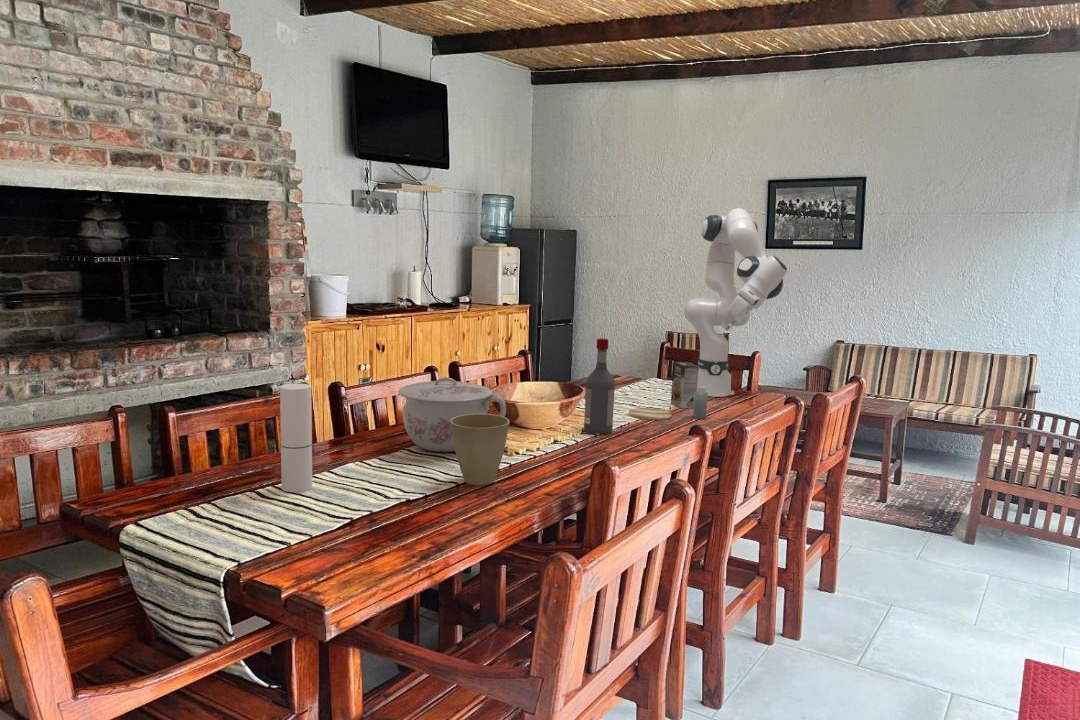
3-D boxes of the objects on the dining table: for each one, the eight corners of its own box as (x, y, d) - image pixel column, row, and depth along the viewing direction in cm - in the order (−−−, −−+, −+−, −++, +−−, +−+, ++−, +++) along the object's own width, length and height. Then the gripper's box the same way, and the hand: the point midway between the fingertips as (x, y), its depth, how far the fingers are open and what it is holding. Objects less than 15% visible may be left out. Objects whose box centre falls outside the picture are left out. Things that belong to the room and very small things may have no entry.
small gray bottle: (691, 415, 287) (693, 385, 286) (704, 416, 287) (706, 386, 285) (693, 418, 283) (696, 388, 281) (707, 419, 283) (709, 388, 281)
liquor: (612, 427, 265) (617, 338, 260) (612, 434, 256) (617, 341, 251) (584, 426, 266) (588, 336, 261) (583, 433, 257) (587, 340, 252)
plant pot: (477, 468, 215) (479, 410, 212) (519, 481, 206) (521, 420, 203) (436, 481, 204) (437, 419, 201) (479, 494, 194) (480, 430, 192)
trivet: (627, 409, 293) (627, 407, 293) (668, 411, 293) (668, 408, 292) (630, 419, 278) (630, 416, 278) (674, 421, 278) (674, 418, 278)
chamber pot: (378, 444, 236) (378, 374, 232) (451, 430, 255) (452, 365, 252) (437, 466, 216) (439, 390, 213) (512, 449, 236) (514, 379, 232)
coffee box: (669, 403, 307) (672, 361, 305) (685, 402, 309) (687, 361, 306) (681, 408, 299) (683, 365, 296) (696, 407, 301) (699, 365, 298)
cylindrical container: (310, 481, 199) (309, 383, 195) (313, 490, 193) (312, 388, 189) (280, 484, 197) (279, 384, 193) (282, 493, 190) (280, 390, 186)
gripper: (745, 295, 289) (720, 325, 292) (740, 288, 270) (713, 320, 272) (759, 306, 288) (733, 336, 290) (755, 299, 268) (728, 331, 271)
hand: (724, 328), depth 281 cm, fingers open, 8 cm apart
